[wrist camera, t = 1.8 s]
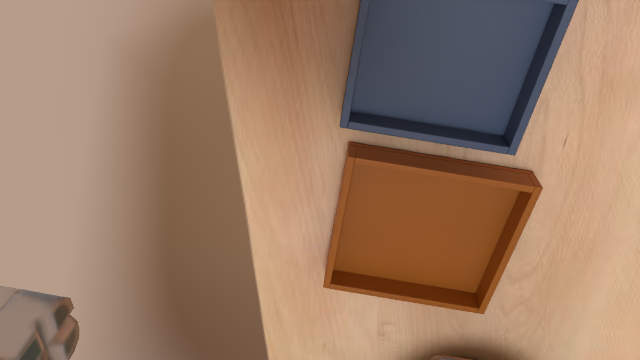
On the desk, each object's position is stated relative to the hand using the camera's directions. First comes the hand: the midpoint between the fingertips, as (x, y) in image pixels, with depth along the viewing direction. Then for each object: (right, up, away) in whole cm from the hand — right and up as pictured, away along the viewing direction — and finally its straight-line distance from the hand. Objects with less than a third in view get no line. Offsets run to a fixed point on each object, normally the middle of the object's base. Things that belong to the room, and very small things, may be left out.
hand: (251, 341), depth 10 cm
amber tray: (+11, 0, +30) cm, 32 cm away
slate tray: (+11, +13, +23) cm, 28 cm away
